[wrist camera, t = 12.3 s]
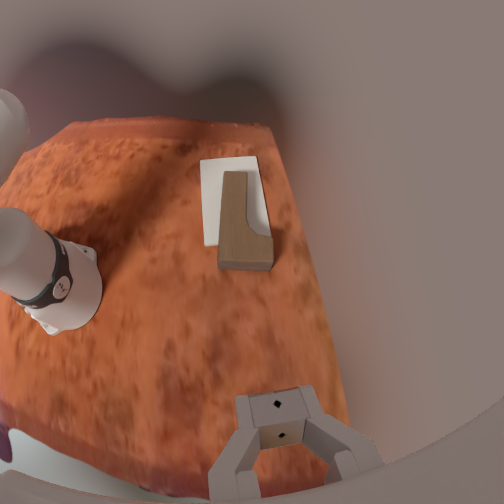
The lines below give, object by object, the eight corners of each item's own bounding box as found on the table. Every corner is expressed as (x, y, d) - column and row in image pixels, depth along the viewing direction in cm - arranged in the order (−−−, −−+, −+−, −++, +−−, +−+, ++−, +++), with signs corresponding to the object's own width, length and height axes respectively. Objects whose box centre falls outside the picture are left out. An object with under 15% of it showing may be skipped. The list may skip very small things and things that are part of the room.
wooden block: (271, 271, 49) (269, 186, 57) (274, 262, 45) (271, 172, 53) (218, 270, 49) (223, 184, 56) (217, 260, 45) (223, 170, 52)
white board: (271, 240, 53) (271, 238, 52) (204, 246, 51) (204, 245, 51) (255, 157, 60) (255, 156, 60) (200, 162, 59) (200, 160, 58)
